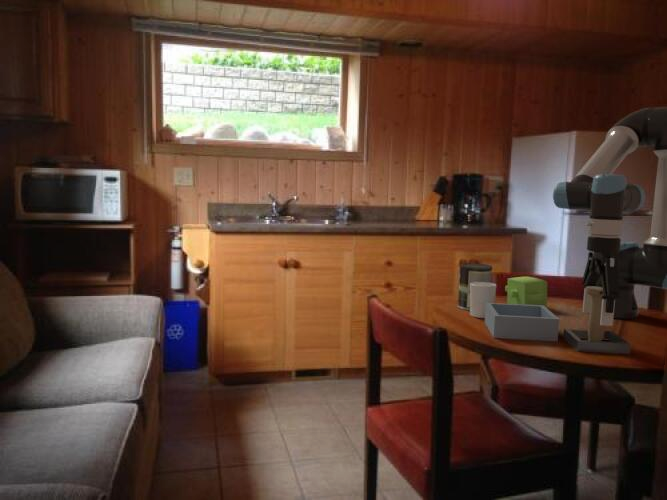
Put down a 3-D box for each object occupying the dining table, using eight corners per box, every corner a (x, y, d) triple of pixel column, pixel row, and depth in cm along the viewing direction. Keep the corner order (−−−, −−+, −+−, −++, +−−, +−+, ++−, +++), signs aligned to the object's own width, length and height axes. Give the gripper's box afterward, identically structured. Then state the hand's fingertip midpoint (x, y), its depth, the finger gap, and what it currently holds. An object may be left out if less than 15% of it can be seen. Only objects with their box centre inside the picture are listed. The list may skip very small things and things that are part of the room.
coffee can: (451, 307, 185) (454, 265, 184) (466, 302, 193) (468, 262, 192) (481, 313, 179) (483, 269, 177) (494, 307, 187) (497, 265, 185)
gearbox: (495, 302, 198) (495, 275, 197) (520, 300, 201) (520, 273, 200) (525, 313, 181) (525, 284, 180) (552, 310, 184) (552, 281, 183)
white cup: (491, 313, 179) (493, 282, 177) (496, 319, 171) (498, 286, 170) (466, 312, 179) (468, 281, 178) (470, 318, 172) (471, 285, 170)
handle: (610, 349, 142) (615, 290, 141) (582, 346, 144) (587, 288, 142) (606, 344, 147) (611, 287, 145) (580, 341, 149) (584, 285, 147)
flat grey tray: (611, 340, 151) (612, 331, 151) (629, 354, 139) (630, 344, 139) (563, 337, 152) (563, 328, 152) (577, 351, 140) (578, 341, 140)
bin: (542, 325, 165) (543, 305, 164) (557, 341, 148) (559, 319, 148) (484, 322, 167) (485, 302, 166) (493, 337, 150) (494, 315, 150)
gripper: (573, 231, 155) (567, 307, 157) (606, 240, 130) (598, 330, 133) (602, 232, 154) (595, 309, 157) (640, 241, 129) (631, 332, 132)
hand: (596, 318), depth 145 cm, fingers open, 13 cm apart
